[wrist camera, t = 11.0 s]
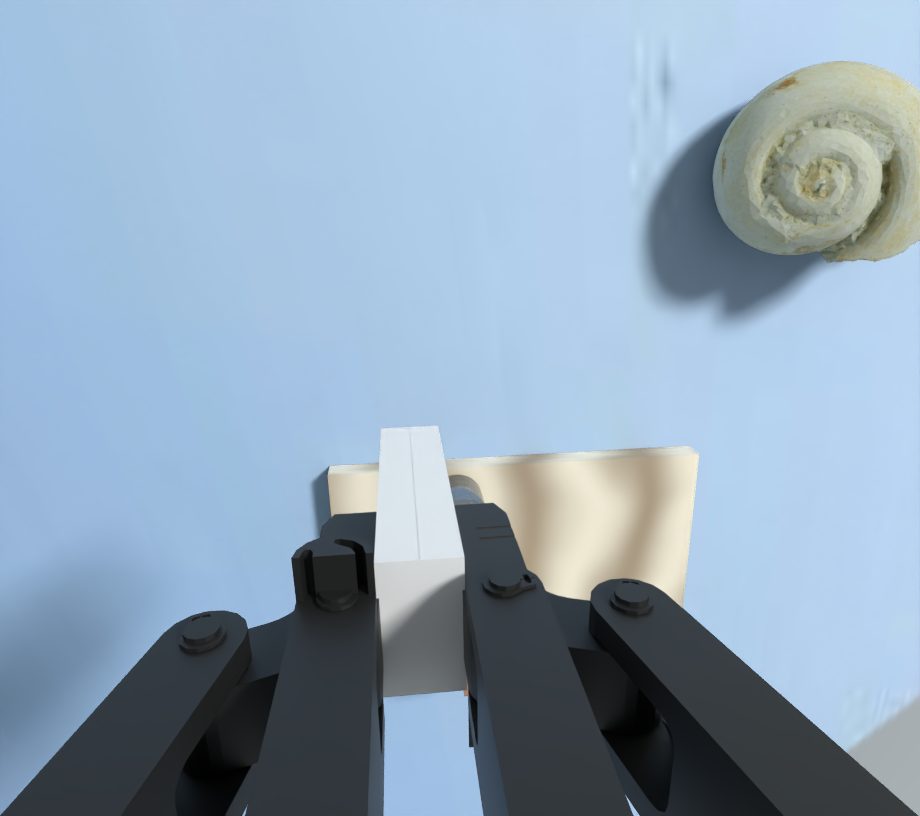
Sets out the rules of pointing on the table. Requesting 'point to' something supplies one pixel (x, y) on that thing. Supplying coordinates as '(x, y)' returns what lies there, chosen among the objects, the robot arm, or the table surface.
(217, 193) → the table surface
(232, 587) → the table surface
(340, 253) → the table surface
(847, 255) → the seashell
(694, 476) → the plate
